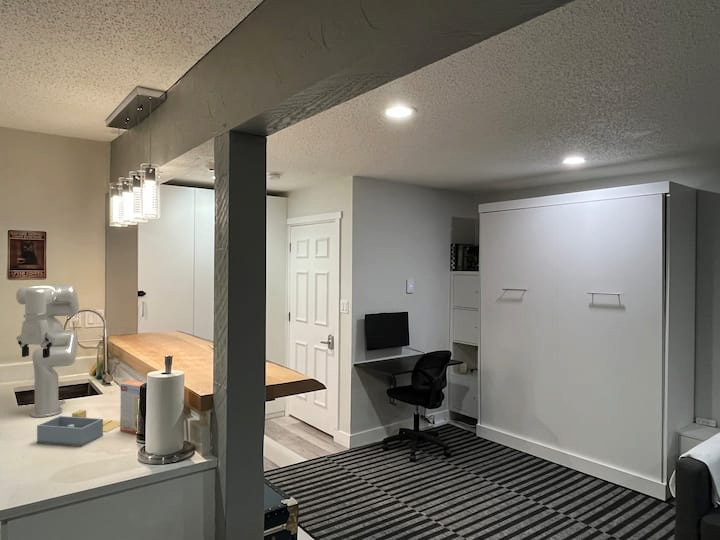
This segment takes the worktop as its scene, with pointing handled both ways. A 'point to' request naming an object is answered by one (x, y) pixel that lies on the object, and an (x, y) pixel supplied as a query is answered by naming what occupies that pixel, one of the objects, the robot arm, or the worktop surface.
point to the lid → (106, 424)
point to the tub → (70, 430)
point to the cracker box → (129, 406)
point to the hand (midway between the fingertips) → (35, 356)
